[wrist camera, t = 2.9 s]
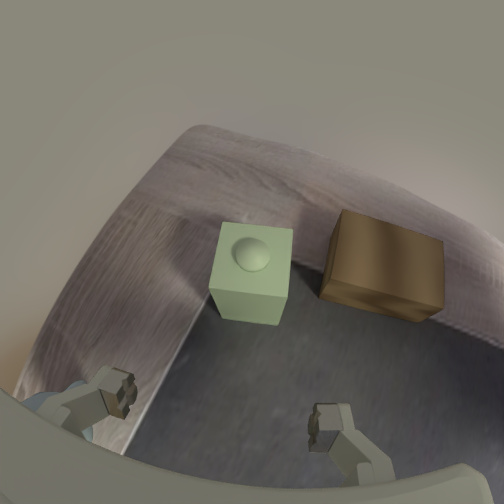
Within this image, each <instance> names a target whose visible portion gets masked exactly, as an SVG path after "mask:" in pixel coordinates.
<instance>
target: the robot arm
mask: <svg viewBox="0 0 504 504" xmlns="http://www.w3.org/2000/svg"><path fill="white" fill-rule="evenodd" d="M134 380H135V378H134V374H132V373H129V372H126V371H123V370H120V369H117V368H114V367H111V366H108V365H103V366H102V367H101V368H100V370H99V371H98V372H97V373H96V375H95V376H94V377H93V378H92V380H91V381H90V382H89V383H88V385H87V384H83V385H80V386H78V387H75V388H72V389H70V390H67V391H64V392H61V393H59V394H56V395H53V396H50V397H48V398H47V399H46V400H45V401H44V403H43V404H42V405H41V406H40V407H39V409H38V410H37V411H36V412H34V411H33V410H31V409H30V408H28V407H27V406H25V405H24V404H22V403H21V402H19V401H18V400H17V399H15V398H14V397H12V396H11V395H10V394H8V393H7V392H6V391H4V390H3V389H2V388H0V504H494V503H493V499H492V495H491V492H490V489H489V485H488V483H487V480H486V478H485V477H484V476H483V474H481V473H480V472H478V471H477V470H475V469H473V468H472V467H470V466H468V465H466V464H465V463H459V464H455V465H452V466H449V467H446V468H442V469H439V470H436V471H432V472H428V473H425V474H421V475H417V476H412V477H408V478H403V479H399V480H396V478H395V474H394V470H393V466H392V462H391V459H390V458H389V457H388V456H387V455H386V454H384V453H383V452H382V451H381V450H380V449H379V448H378V447H377V446H375V445H374V444H373V443H372V442H371V441H370V440H369V439H368V438H366V437H365V436H364V435H363V434H362V433H361V432H360V431H359V430H355V426H354V422H353V417H352V413H351V408H350V405H349V403H315V404H314V406H313V413H312V414H310V417H309V422H308V434H309V435H310V438H309V441H308V444H309V452H310V453H327V454H328V455H329V456H330V458H331V459H332V460H333V462H334V463H335V464H336V465H337V467H338V468H339V469H340V471H341V472H342V473H343V474H344V476H345V477H346V479H345V481H344V482H343V483H342V484H341V485H340V486H339V487H338V488H318V489H290V488H269V487H257V486H247V485H239V484H232V483H225V482H219V481H213V480H208V479H203V478H198V477H193V476H189V475H185V474H181V473H177V472H173V471H169V470H165V469H162V468H158V467H155V466H152V465H149V464H146V463H142V462H139V461H137V460H134V459H131V458H128V457H125V456H123V455H120V454H118V453H115V452H113V451H110V450H108V449H105V448H103V447H101V446H98V445H96V444H94V443H92V442H89V441H87V440H86V438H85V436H84V435H83V433H82V431H83V430H85V429H87V428H88V427H90V426H92V425H94V424H95V423H97V422H99V421H100V420H102V419H104V418H105V417H107V416H109V415H112V416H115V417H118V418H121V419H124V420H125V418H126V416H127V415H128V413H129V411H130V409H129V406H130V405H132V404H134V402H135V400H136V397H137V386H136V385H135V384H134V383H133V382H134Z"/></svg>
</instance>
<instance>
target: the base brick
mask: <svg viewBox="0 0 504 504" xmlns="http://www.w3.org/2000/svg"><path fill="white" fill-rule="evenodd" d="M318 298H320V299H323V300H327V301H331V302H335V303H339V304H343V305H347V306H350V307H354V308H358V309H362V310H366V311H370V312H374V313H379V314H383V315H387V316H391V317H395V318H399V319H403V320H408V321H412V322H416V323H419V322H421V321H423V320H425V319H426V318H428V317H430V316H432V315H434V314H436V313H437V312H439V311H441V310H443V309H444V251H443V241H440V240H437V239H434V238H432V237H429V236H426V235H423V234H420V233H417V232H414V231H411V230H409V229H406V228H403V227H399V226H396V225H393V224H390V223H387V222H384V221H381V220H378V219H374V218H371V217H368V216H364V215H361V214H358V213H354V212H351V211H348V210H344V209H343V210H342V212H341V214H340V217H339V219H338V221H337V224H336V226H335V228H334V231H333V233H332V235H331V239H330V244H329V250H328V255H327V260H326V265H325V270H324V274H323V279H322V284H321V288H320V293H319V297H318Z"/></svg>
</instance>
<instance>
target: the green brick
mask: <svg viewBox="0 0 504 504" xmlns="http://www.w3.org/2000/svg"><path fill="white" fill-rule="evenodd" d="M292 238H293V229H287V228H278V227H269V226H260V225H251V224H241V223H232V222H222V226H221V231H220V235H219V240H218V244H217V249H216V253H215V258H214V263H213V267H212V272H211V277H210V282H209V287H208V288H209V290H210V292H211V295H212V297H213V299H214V301H215V303H216V306H217V308H218V310H219V312H220V314H221V317H222V318H224V319H231V320H238V321H245V322H253V323H261V324H270V325H278V324H279V321H280V318H281V315H282V312H283V309H284V306H285V303H286V300H287V298H288V287H289V276H290V264H291V251H292Z"/></svg>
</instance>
